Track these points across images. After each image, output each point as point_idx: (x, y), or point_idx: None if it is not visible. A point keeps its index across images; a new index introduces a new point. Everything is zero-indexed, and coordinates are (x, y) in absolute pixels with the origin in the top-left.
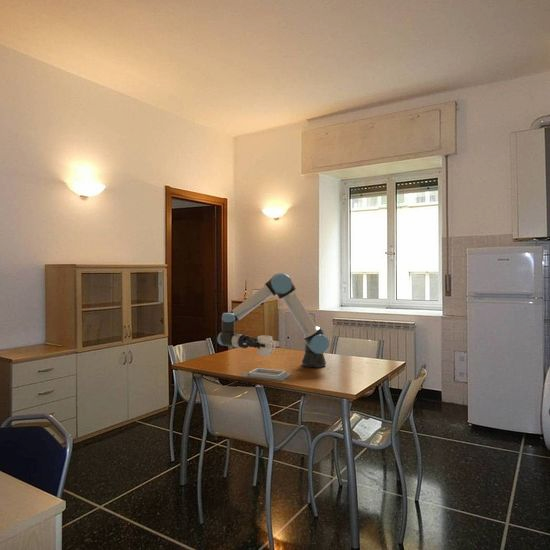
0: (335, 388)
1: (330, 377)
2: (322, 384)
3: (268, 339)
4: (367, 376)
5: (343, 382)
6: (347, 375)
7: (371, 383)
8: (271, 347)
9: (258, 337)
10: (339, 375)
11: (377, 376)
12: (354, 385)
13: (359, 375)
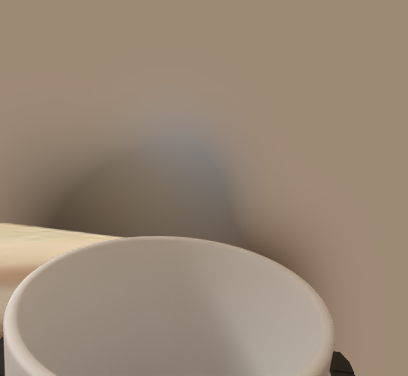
0: None
1: None
2: None
3: (245, 274)
4: (23, 242)
5: None
6: (12, 272)
7: (117, 237)
8: (169, 366)
9: (326, 371)
10: (15, 286)
11: (19, 230)
12: None
13: (9, 253)
